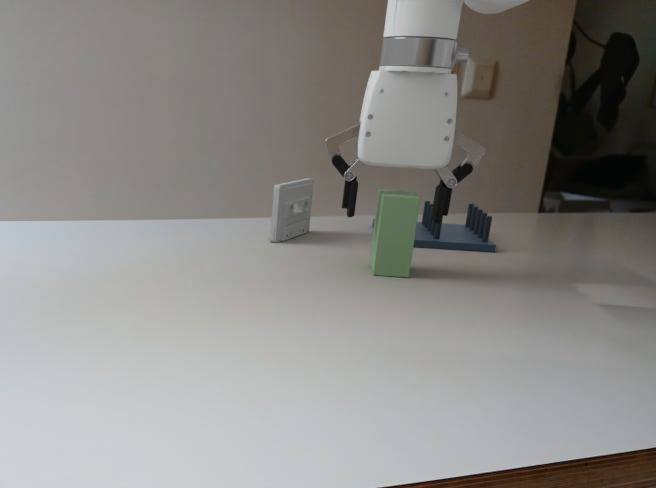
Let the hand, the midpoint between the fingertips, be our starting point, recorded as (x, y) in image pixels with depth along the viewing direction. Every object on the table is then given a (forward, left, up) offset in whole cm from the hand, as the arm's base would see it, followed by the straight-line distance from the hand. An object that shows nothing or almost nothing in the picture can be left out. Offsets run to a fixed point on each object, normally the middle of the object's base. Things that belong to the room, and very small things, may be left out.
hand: (392, 218), depth 85 cm
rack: (-8, -24, -6) cm, 26 cm away
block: (0, 0, -6) cm, 6 cm away
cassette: (+12, -18, -6) cm, 22 cm away
